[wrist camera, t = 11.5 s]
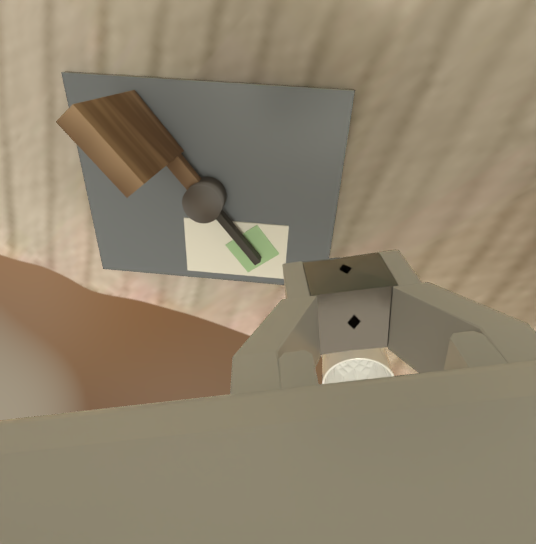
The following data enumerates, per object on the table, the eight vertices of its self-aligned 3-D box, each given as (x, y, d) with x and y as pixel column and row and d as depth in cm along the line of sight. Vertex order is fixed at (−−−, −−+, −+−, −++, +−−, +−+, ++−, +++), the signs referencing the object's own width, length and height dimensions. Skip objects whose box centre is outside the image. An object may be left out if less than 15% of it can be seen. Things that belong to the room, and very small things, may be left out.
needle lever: (141, 82, 35) (81, 94, 26) (273, 247, 43) (263, 303, 33) (114, 109, 36) (47, 130, 27) (246, 264, 44) (230, 322, 35)
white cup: (338, 356, 52) (344, 417, 44) (308, 319, 49) (308, 375, 41) (390, 334, 49) (407, 394, 41) (361, 293, 46) (374, 348, 38)
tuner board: (353, 89, 35) (355, 90, 34) (324, 284, 46) (324, 290, 45) (66, 71, 36) (59, 72, 35) (106, 265, 48) (101, 270, 46)
